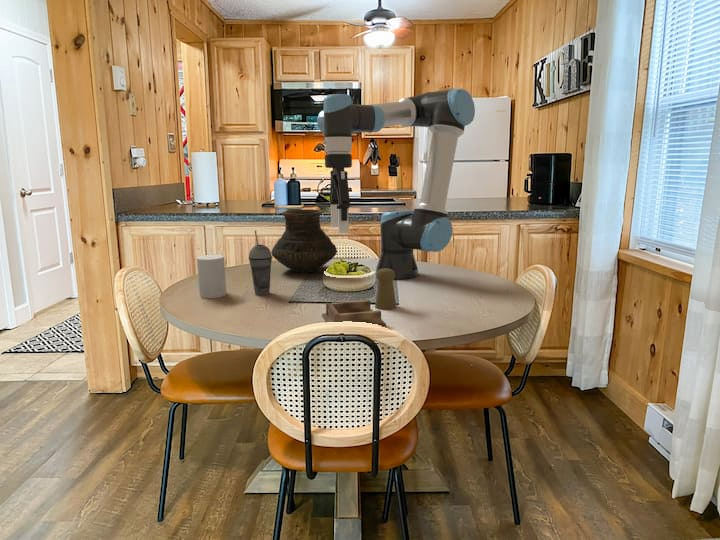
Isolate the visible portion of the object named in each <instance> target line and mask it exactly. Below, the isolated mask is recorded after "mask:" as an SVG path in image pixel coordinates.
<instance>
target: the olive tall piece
mask: <svg viewBox="0 0 720 540" xmlns="http://www.w3.org/2000/svg"><path fill="white" fill-rule="evenodd" d="M375 275H376V279H377V288H376V289H377V290H376V297H375V305H374V307H375V309H378V310H380V311H382V310H383V311H388V310H394V309H396V308H397V303H396V301H397V300H396V294H395V288H394V280H395V279H394V278H395V273H394V271H393V270H392V269H388V268H383V269H379V270H378V271H377V274H376V273H375Z"/></svg>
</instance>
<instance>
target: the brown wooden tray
mask: <svg viewBox="0 0 720 540" xmlns="http://www.w3.org/2000/svg"><path fill="white" fill-rule="evenodd" d="M321 316H322V318H323V320H324V322H325V323H326V322H343V321H352V322H366V323H372V324H378V325H382V326H381V327H386V326H387V323H386V322H385V321H384V320H383V319H382V310H381V309H378V310H373V309H371V300H370V299H366V300H352V301H340V302H339V301H338V302H328V303H327V302H326V303H325V313H323V312H322V313H321Z"/></svg>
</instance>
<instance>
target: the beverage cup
mask: <svg viewBox="0 0 720 540" xmlns="http://www.w3.org/2000/svg"><path fill="white" fill-rule="evenodd" d="M257 233H258V232H257V230H256V229H255V230H254V236H255V240H256V241H255V242H256V245H254V246H253V247H251V249H250V250H249V253H248V261H249V265H250V270H251V275H252V276H251V277H252V285H253V289H254V294H255V295H256V296H266V295H269V294H270V291H271V290H270V289H271V274H272V273H271V271H272V270H271V269H272V259H273V256H272V253H271V249H270V248H269V247H268V246H266V245H265V244H259V240H258V234H257Z"/></svg>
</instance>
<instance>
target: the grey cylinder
mask: <svg viewBox="0 0 720 540" xmlns="http://www.w3.org/2000/svg"><path fill="white" fill-rule="evenodd" d="M196 266H197V267H196V268H197V269H196V270H197V277H198V292H199V297H200V298H204V299H216V298H221V297H225V296H226V295H227V282H226V280H227V279H226V267H225V256H224V255H222V254H206V255H201V256H200V255H199V256H197V257H196Z"/></svg>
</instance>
